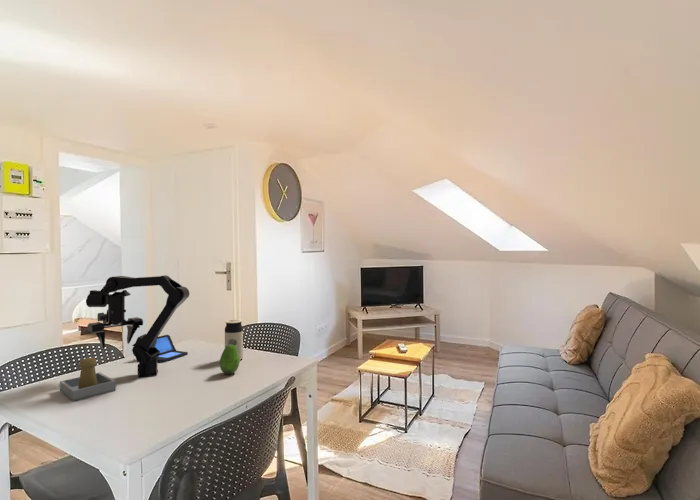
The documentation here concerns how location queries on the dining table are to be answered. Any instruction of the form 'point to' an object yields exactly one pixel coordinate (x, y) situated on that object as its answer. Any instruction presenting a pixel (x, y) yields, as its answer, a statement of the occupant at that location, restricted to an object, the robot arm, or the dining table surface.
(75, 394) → the tray
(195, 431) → the dining table surface
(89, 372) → the cork
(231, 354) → the avocado
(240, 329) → the travel mug
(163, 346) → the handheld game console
